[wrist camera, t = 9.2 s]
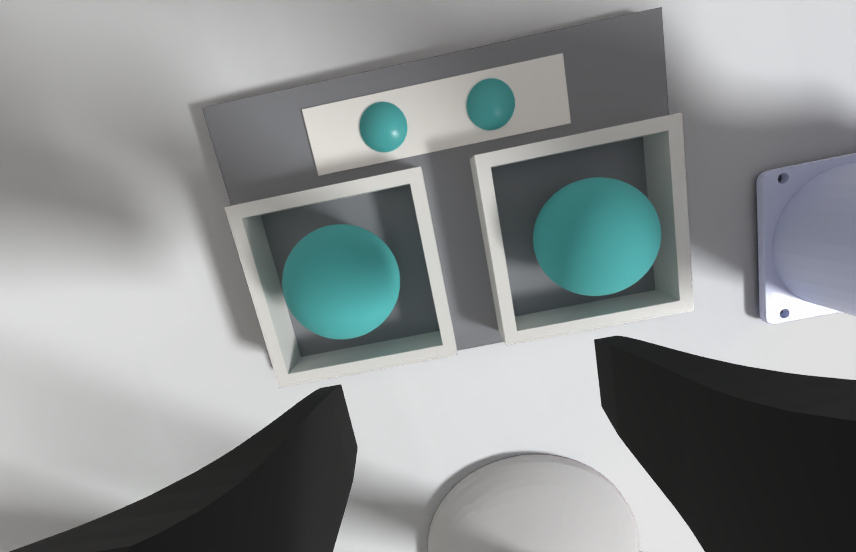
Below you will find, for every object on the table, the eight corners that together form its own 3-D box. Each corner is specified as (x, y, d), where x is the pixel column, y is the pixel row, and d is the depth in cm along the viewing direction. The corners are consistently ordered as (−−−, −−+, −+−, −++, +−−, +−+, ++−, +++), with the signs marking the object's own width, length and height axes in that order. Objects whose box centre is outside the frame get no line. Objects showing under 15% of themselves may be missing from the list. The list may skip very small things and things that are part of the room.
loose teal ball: (395, 213, 19) (383, 220, 14) (410, 311, 20) (404, 349, 15) (294, 227, 19) (248, 240, 14) (314, 324, 20) (278, 366, 15)
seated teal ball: (618, 169, 19) (686, 161, 14) (628, 271, 20) (694, 297, 15) (514, 190, 19) (544, 190, 14) (529, 289, 20) (562, 322, 15)
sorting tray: (649, 16, 18) (691, -17, 15) (669, 303, 21) (709, 321, 18) (213, 111, 19) (174, 97, 16) (291, 374, 22) (269, 402, 19)
